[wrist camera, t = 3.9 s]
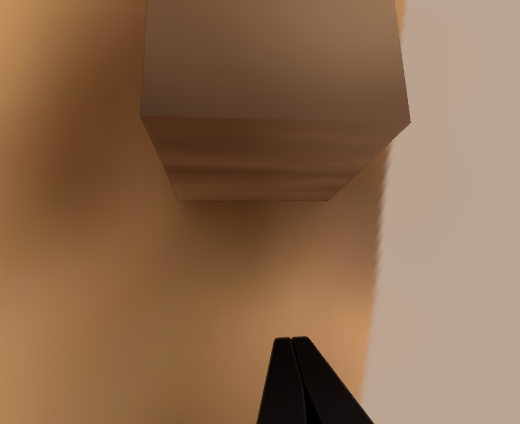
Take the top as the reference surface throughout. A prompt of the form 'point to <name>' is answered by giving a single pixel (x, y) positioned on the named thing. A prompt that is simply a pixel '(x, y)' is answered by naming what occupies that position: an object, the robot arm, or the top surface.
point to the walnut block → (270, 94)
